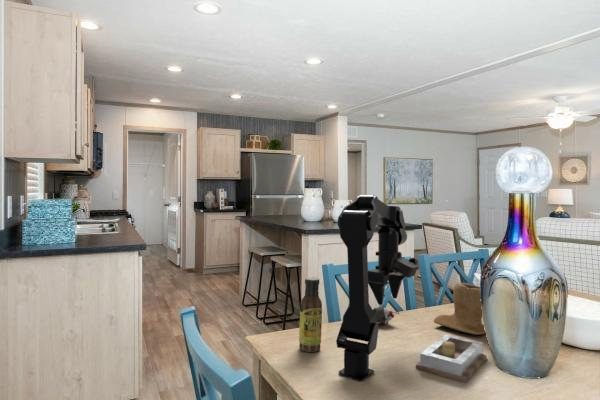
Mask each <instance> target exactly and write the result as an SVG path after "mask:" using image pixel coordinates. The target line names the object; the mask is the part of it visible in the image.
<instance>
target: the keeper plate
mask: <svg viewBox="0 0 600 400" xmlns="http://www.w3.org/2000/svg"><path fill="white" fill-rule="evenodd" d="M462 353H463V351H459V350H455V344H454V343H453V342H448V341H445V342H442V356H445V357H449V358H453V359H457V358H458V357H459V356H460V355H461V354H462ZM487 355H488V354H485V353H483V354H482V355H481V356H480V357H479V358H478V360H477V361H476V362H475V363H474V364H473V365H472V366H471V367H470V368H469V369H468V371H467V372H466V373H465V374H464V375H463V376H462V377H460V376H456V375H453V374H449V373H445V372H442V371H438V370H435V369H431V368H428V367H424V366H421V365H420V361H419V362H417V363H416V364H415V369H416V370H420V371H424V372H426V373H430V374H433V375H437V376H440V377H445V378H448V379H451V380H454V381H458V382H461V383H464V384H466V383H467V382H468V381H469V380H470V379H471V377H472V376H473V375H474V374H475V373H476V371H477V370H478V369H479V368H480V367H481V366H482V364H483V363H485V361H486V360H487V359H488V358H487V357H488V356H487Z"/></svg>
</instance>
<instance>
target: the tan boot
mask: <svg viewBox="0 0 600 400" xmlns="http://www.w3.org/2000/svg"><path fill="white" fill-rule="evenodd" d="M480 287H481V286H478V285H475V284H474V285H473V284H471V283H464V282H457V283H456V284H455V285H454V287H453V291H452V292H453V299H452V300H453V305H454V306H453V307H454V313H453V314H451V315H449V314H440V315H438V316H436V317H435V318H434V319H433V323H434V324H436V325H439V326H443V327H445V328H449V329H451V330H455V331H458V332H463V333H466V334H470V335H478V336H481V335H484V334H486V333H485V330H484V326H485V324H483V322H482V319H483V315H482V309H481V301H480Z"/></svg>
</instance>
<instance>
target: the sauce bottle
mask: <svg viewBox="0 0 600 400" xmlns="http://www.w3.org/2000/svg"><path fill="white" fill-rule="evenodd" d="M304 284H305V287H304V288H305V290H304V296H303V297H302V299H301V301H300V311H299V327H298V328H299V331H298V334H299V337H298V338H299V339H298V343H299V345H298V346H299V350H301V351H304V352H307V353H315V352H318V351H320V349H321V344H322V328H323V327H322V324H323V323H322V320H323V303H322V300H321V298H320V296H319V293H320V291H319V285H320V278H318V277H315V276H312V277H311V276H310V277H308V276H307V277H305V278H304Z"/></svg>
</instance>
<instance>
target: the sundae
mask: <svg viewBox="0 0 600 400" xmlns="http://www.w3.org/2000/svg"><path fill="white" fill-rule="evenodd" d="M374 308H375V309H376V320H377V324H383V326H386V324H389V321H392V319H393V318H395V316H396V315H399V314H400V312H396V311H392V310H389V309H388V308H387V307H385V305H384V304H382V305H380V306H379V307H374Z"/></svg>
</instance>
